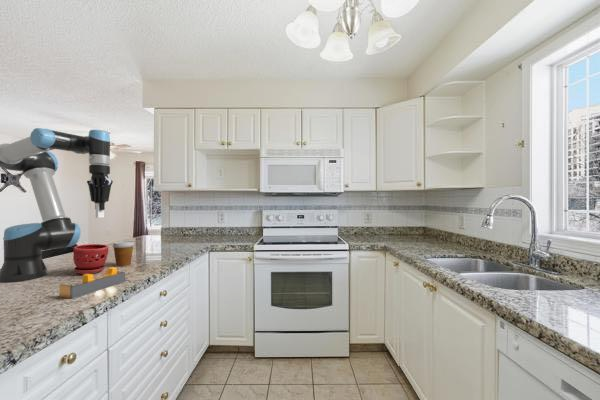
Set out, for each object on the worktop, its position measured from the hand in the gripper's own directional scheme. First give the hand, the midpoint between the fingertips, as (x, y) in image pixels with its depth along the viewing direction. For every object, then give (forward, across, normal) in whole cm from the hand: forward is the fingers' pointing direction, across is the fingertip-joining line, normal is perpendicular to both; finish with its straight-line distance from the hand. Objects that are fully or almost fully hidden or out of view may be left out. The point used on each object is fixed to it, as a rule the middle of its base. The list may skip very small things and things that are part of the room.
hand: (99, 217), depth 122 cm
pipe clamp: (+27, +15, -11) cm, 33 cm away
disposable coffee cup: (+27, -8, +18) cm, 33 cm away
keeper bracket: (+26, +16, -13) cm, 34 cm away
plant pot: (+26, -11, +3) cm, 28 cm away
